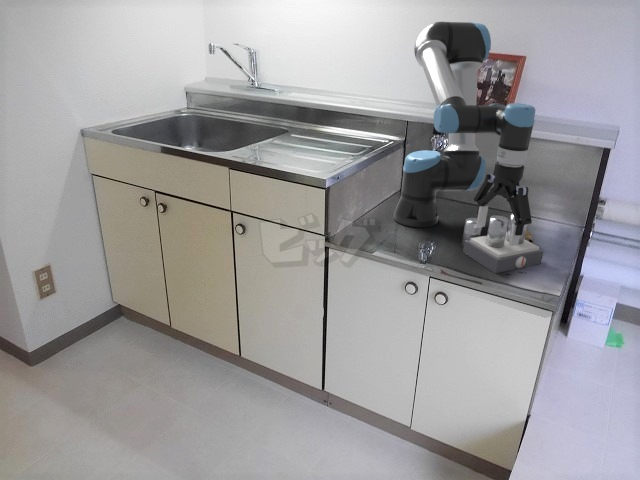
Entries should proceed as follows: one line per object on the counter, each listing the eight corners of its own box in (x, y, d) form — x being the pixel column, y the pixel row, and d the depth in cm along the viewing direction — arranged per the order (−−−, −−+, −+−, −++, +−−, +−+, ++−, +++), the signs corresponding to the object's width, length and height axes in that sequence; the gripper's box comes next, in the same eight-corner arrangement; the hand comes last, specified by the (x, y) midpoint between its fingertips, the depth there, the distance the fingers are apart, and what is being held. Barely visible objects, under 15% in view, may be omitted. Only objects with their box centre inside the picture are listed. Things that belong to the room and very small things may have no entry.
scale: (462, 252, 154) (465, 237, 152) (506, 244, 161) (509, 230, 159) (497, 274, 142) (500, 257, 140) (542, 264, 148) (546, 248, 146)
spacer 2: (481, 242, 149) (486, 216, 146) (495, 239, 151) (500, 214, 148) (493, 249, 145) (498, 222, 142) (507, 246, 147) (512, 220, 144)
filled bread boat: (517, 230, 172) (520, 218, 170) (536, 249, 159) (539, 236, 157) (502, 230, 171) (504, 218, 170) (519, 249, 158) (522, 236, 157)
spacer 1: (458, 242, 161) (462, 219, 158) (471, 240, 163) (475, 217, 159) (468, 249, 157) (472, 224, 153) (481, 246, 159) (486, 222, 155)
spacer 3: (502, 238, 152) (507, 213, 149) (515, 236, 154) (520, 211, 151) (514, 245, 148) (519, 219, 145) (527, 242, 150) (533, 217, 147)
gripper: (468, 152, 147) (458, 221, 156) (534, 178, 127) (518, 255, 135) (489, 150, 150) (477, 218, 159) (557, 175, 130) (539, 251, 138)
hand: (496, 235), depth 147 cm, fingers open, 13 cm apart
